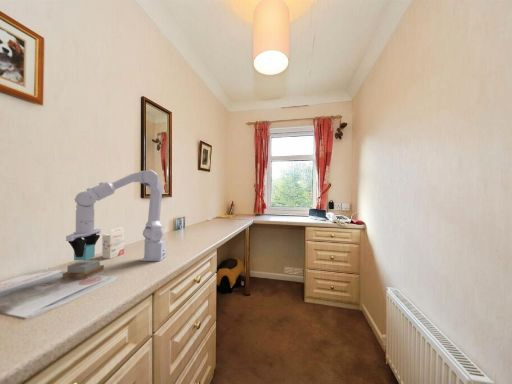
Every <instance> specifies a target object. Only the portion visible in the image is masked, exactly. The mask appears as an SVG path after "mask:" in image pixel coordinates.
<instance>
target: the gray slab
mask: <svg viewBox="0 0 512 384" xmlns="http://www.w3.org/2000/svg"><path fill="white" fill-rule="evenodd" d="M100 265H101V260H91V259H88V260H79V261H78V262H75V263H72V264H70V265H67V269H66V270H67V271H66V272H67V273H86V272H89V271H91V270H93V269H95V268H98V267H100Z"/></svg>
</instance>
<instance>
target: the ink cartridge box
mask: <svg viewBox="0 0 512 384" xmlns="http://www.w3.org/2000/svg"><path fill="white" fill-rule="evenodd" d="M124 229H125V228H124V226H120V227H118V226H117V227H114V228H110V229H109V233H106V234H102V235H101V236H102V238H101V242H102V244H101V246H102V249H101V251H102V256H101V257H102V259H110V260H111V259H113V258H115V257H116V258H117V257H119V256H121V255H124V254H125V232H124V231H125V230H124Z"/></svg>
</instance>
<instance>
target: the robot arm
mask: <svg viewBox="0 0 512 384" xmlns="http://www.w3.org/2000/svg"><path fill="white" fill-rule="evenodd" d="M131 183H140V184H142V185H144V186H146V187H147V189H149V190H150V191H149V192H150V194H149V205H148V215H147V217H148V218H147V222H146V223H145V226H144V229H143V231H142V236H143V237H144V238H145V239H144V247H143V248H144V250H143V251H144V254H143V255H144V257H143V258H141V259H139V260H140V262H160V261H162V260H164V258H166V257H167V242H166V241H165V240H162V238H163V236H164V233H163V230H162V229H163V228H162V227H163V226H162V223H161V222H160V218H161V217H160V216H161V209H162V196H163V185H162V183H161V181H160V178H159V174H158V173H156V172H155V171H154V170H153V169H147V170H140V171H138V172H134V173H130V174H128V175H126V176H124V177H122V178H119V179H117V180H115V181H112V182H109V181H108V182H107V181H105V182H103V181H102V182H99V183H98V185H96V186H93V187H91V188H90V187H87V188H86V190H84V191H81V192H78V193H77V194H76V196H75V198H74V202H75V203H76V206H75V207H76V208H75V231H73V233H70V234H68V235H65V241H66V242H68V244H70V246H71V247H72V250H73V253H74V252H75V255H76V257H83V252H84V246H85V245H95V246H96V244H97V242H98V240H99V239H100V236H101V235H100V234H102V233H101V231H102V229H101V228H95V203H96V202H97V201H101V200H103V199H105V198H107V197H109V196H111V195H114V194H115V192H116V190H118V189H120V188H122V187H125V186H127V185H129V184H131Z"/></svg>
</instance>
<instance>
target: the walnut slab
mask: <svg viewBox="0 0 512 384" xmlns="http://www.w3.org/2000/svg"><path fill="white" fill-rule="evenodd" d="M104 269H105V265H103V264H100V267H98V268H95V269H93V270H91V271H89V272H86V273H67V271H66V272H64V273H62V279H63V278H87V279H89V278H91V277H93V276H95V275H96V274H98V273H100V272H103V271H104ZM88 277H89V278H88Z"/></svg>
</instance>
